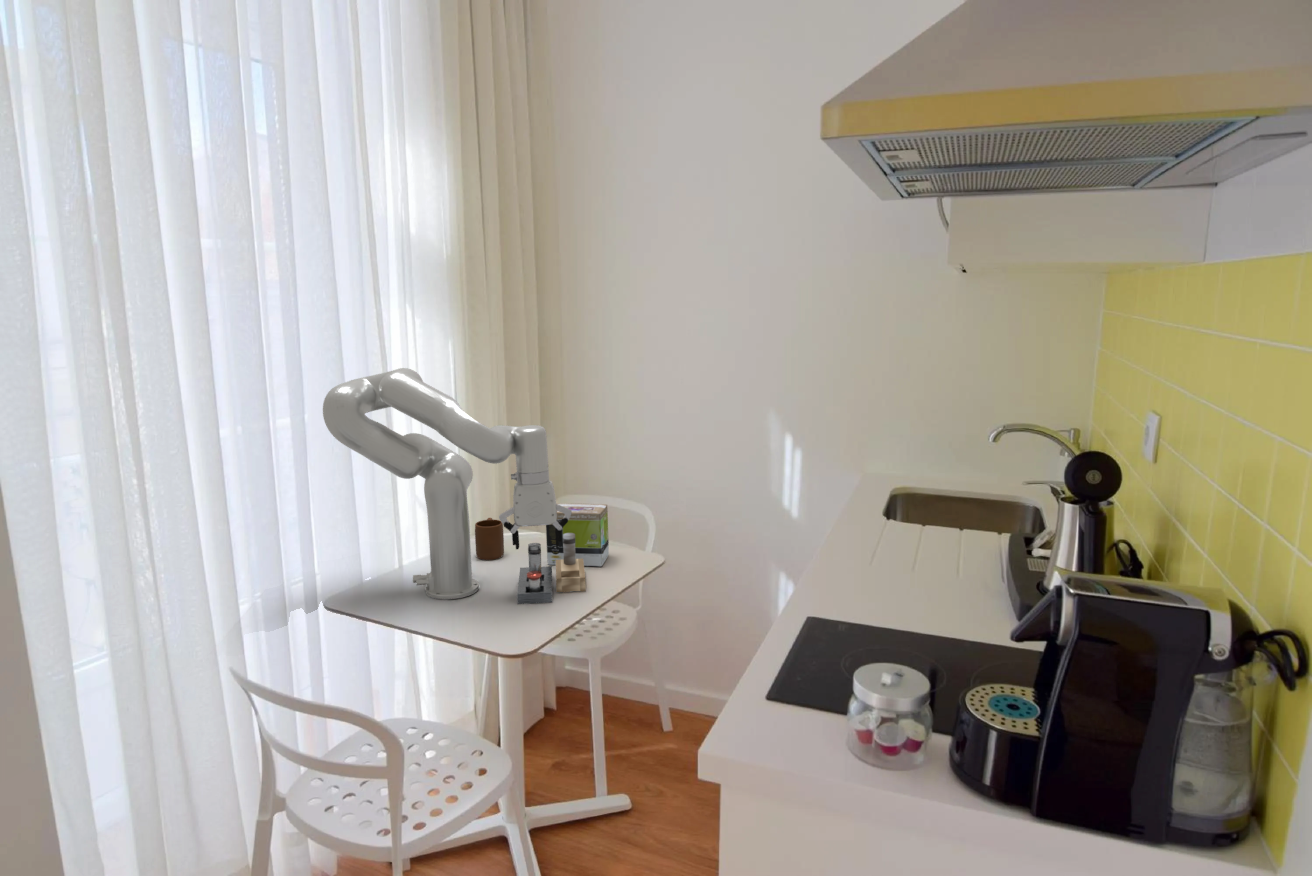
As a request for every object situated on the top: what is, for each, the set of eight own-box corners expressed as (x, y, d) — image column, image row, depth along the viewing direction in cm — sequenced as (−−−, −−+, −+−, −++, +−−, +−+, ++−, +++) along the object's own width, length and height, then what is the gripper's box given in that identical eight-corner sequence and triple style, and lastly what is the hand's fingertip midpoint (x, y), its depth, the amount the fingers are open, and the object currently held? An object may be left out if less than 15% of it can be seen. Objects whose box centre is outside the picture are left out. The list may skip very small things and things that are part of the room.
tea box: (609, 555, 216) (608, 503, 213) (601, 568, 206) (600, 513, 204) (556, 553, 218) (554, 501, 215) (546, 565, 208) (544, 511, 206)
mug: (477, 547, 223) (476, 515, 221) (504, 546, 224) (503, 514, 223) (475, 561, 211) (473, 527, 210) (504, 559, 213) (502, 526, 211)
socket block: (517, 604, 182) (517, 594, 182) (520, 577, 200) (520, 567, 199) (552, 602, 183) (551, 592, 183) (552, 575, 201) (552, 566, 200)
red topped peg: (527, 597, 183) (526, 576, 182) (527, 592, 186) (527, 571, 185) (542, 597, 183) (541, 575, 182) (542, 591, 187) (541, 570, 186)
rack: (556, 592, 189) (555, 549, 187) (556, 572, 203) (555, 531, 201) (585, 591, 190) (584, 547, 188) (583, 571, 203) (582, 530, 202)
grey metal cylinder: (529, 590, 191) (527, 547, 189) (529, 585, 194) (528, 543, 192) (542, 589, 191) (540, 546, 189) (542, 585, 194) (540, 542, 192)
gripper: (495, 483, 183) (500, 553, 186) (569, 478, 185) (573, 548, 188) (497, 476, 190) (502, 544, 193) (569, 471, 192) (573, 539, 195)
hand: (537, 546), depth 190 cm, fingers open, 9 cm apart
